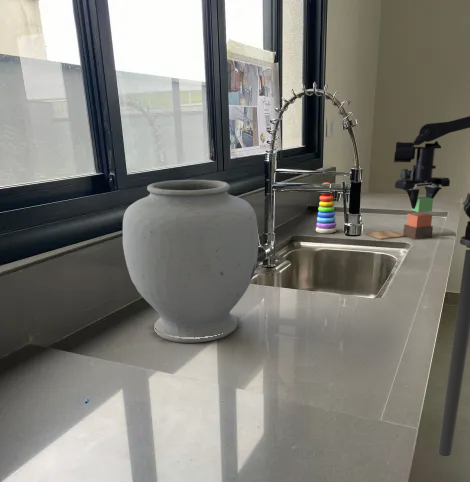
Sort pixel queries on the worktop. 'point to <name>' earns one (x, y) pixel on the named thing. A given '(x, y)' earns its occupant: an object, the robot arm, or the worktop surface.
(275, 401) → the worktop surface
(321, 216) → the stacking toy
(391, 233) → the cork coaster
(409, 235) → the walnut block
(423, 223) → the terracotta block
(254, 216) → the grey vase
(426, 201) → the green block
